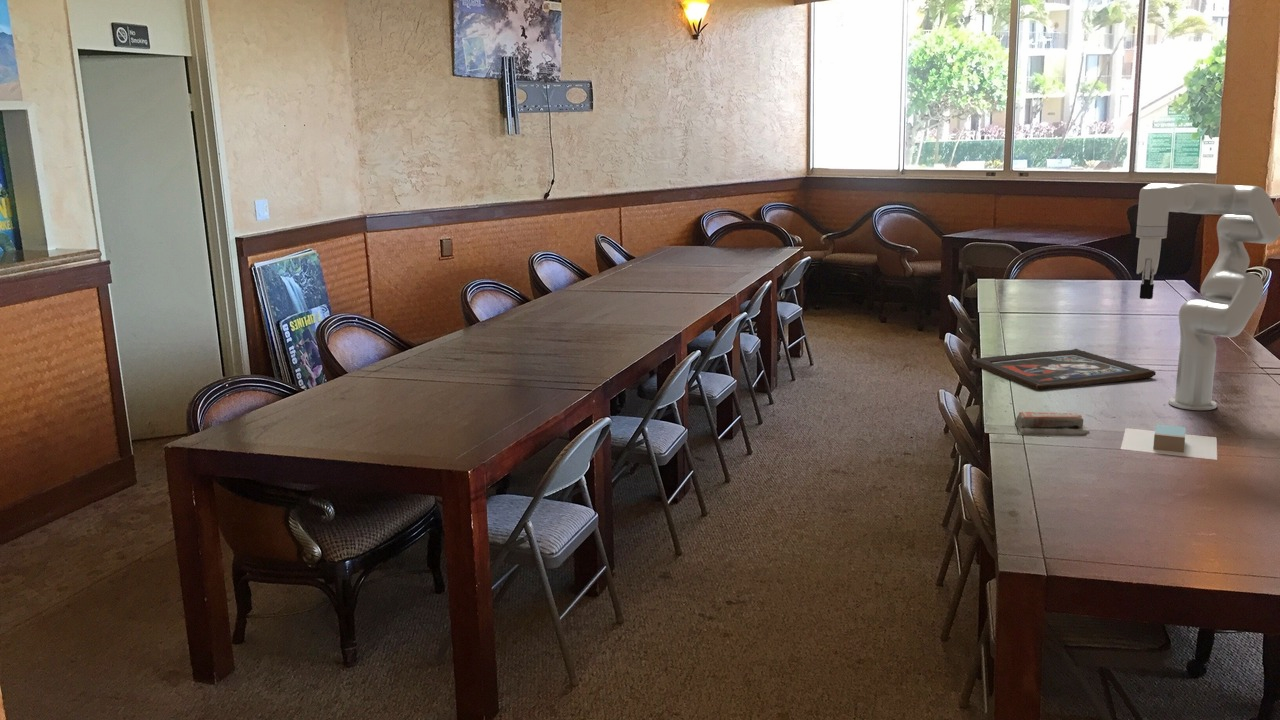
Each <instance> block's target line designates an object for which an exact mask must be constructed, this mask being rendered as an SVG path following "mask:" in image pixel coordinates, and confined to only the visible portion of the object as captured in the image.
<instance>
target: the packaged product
mask: <svg viewBox="0 0 1280 720" xmlns="http://www.w3.org/2000/svg"><path fill="white" fill-rule="evenodd" d="M1014 425H1015V426H1016V428H1017V429H1018V431H1019V432H1020V433H1021V434H1040V435H1044V434H1045V435H1087V434H1089V433H1090V429H1089V428H1088V427H1086V426H1085V425H1084V419H1083V416H1082V415H1081V414H1077V413H1069V412H1068V413H1067V412H1066V413H1065V412H1042V411H1041V412H1039V411H1035V412H1034V411H1019V413H1018V415H1017V416H1016V420H1014Z"/></svg>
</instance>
